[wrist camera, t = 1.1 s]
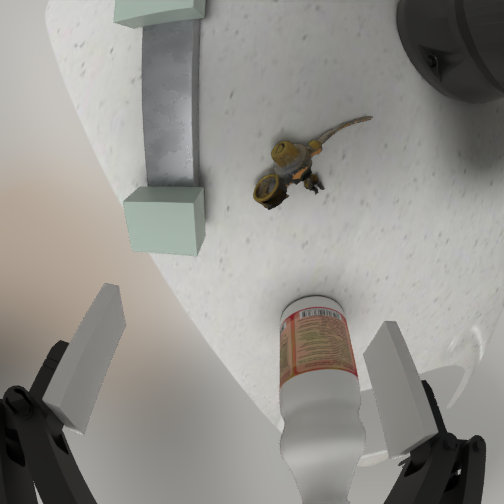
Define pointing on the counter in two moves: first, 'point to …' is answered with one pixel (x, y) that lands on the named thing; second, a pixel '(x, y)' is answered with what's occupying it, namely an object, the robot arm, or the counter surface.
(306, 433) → the fruit juice
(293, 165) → the regulator
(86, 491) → the robot arm
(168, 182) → the rail
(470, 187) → the counter surface
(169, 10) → the mounted modules
